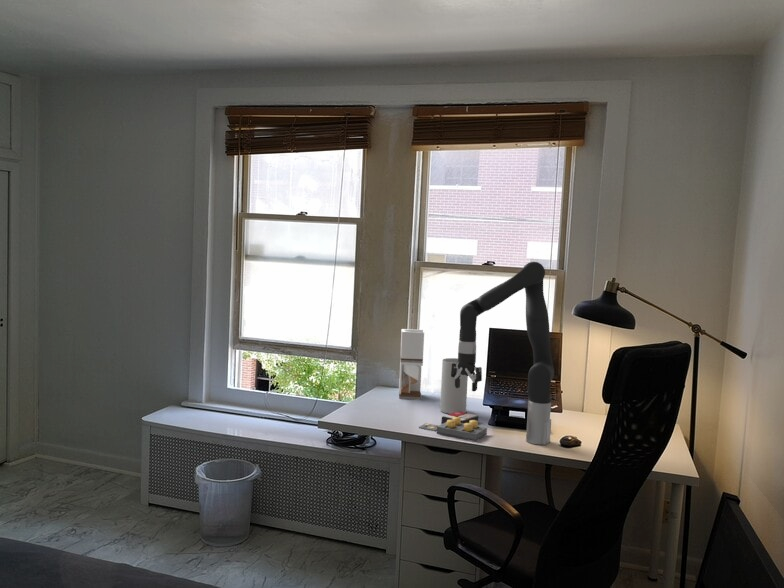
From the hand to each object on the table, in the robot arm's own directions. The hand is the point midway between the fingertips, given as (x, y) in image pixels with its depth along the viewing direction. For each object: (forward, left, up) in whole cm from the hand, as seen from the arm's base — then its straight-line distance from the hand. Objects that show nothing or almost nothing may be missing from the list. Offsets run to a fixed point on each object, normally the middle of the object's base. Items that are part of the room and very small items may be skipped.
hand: (465, 389), depth 276 cm
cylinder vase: (+20, -32, -20) cm, 43 cm away
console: (+1, 0, -20) cm, 20 cm away
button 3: (-3, +2, -17) cm, 17 cm away
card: (+16, 0, -20) cm, 25 cm away
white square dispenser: (+51, -45, -20) cm, 71 cm away
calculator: (+9, -16, -20) cm, 27 cm away
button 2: (+5, -3, -17) cm, 18 cm away
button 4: (-3, -3, -17) cm, 18 cm away
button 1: (+5, +2, -17) cm, 18 cm away
